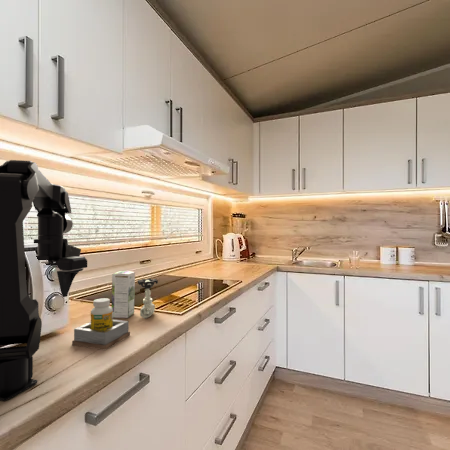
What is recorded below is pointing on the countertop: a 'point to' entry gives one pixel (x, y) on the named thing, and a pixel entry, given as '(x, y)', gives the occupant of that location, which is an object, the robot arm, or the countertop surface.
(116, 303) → the syrup box
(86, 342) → the sleeve holder
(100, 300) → the supplement bottle
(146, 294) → the valve
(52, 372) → the countertop surface
